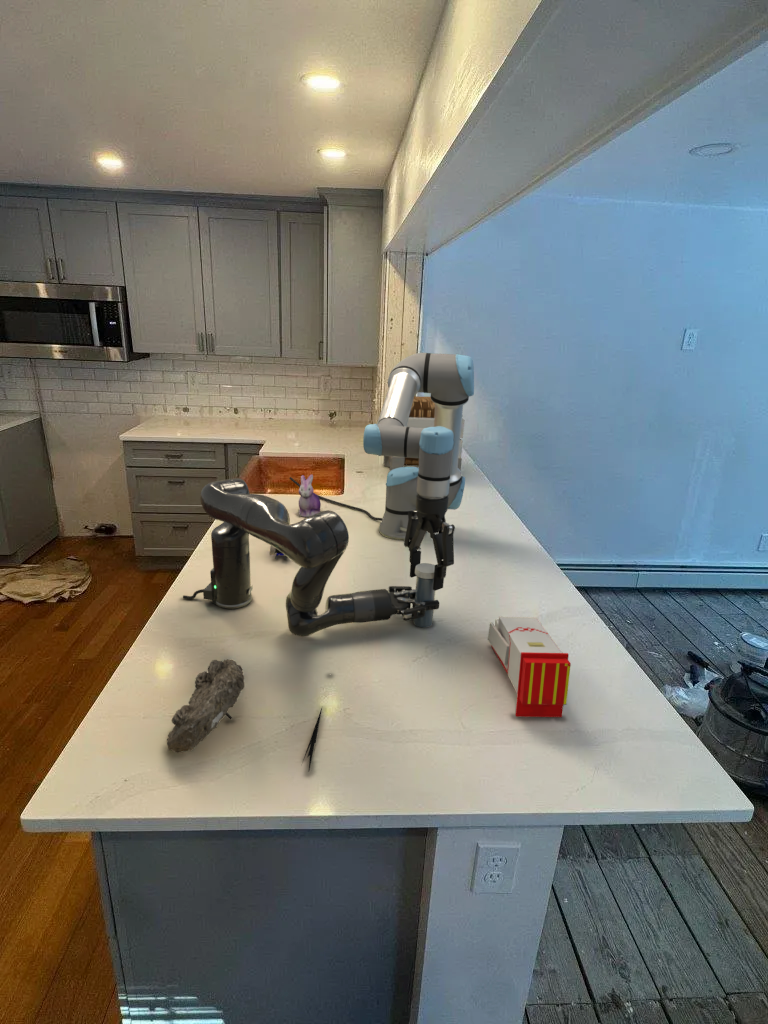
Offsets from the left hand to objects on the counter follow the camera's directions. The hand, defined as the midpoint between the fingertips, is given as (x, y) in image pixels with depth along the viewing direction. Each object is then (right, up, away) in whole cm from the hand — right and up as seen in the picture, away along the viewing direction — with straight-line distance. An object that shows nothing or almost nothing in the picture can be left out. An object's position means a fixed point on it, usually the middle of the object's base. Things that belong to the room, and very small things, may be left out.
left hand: (434, 599), depth 143 cm
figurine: (-41, +21, +73) cm, 86 cm away
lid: (-2, +8, -4) cm, 9 cm away
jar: (-3, -6, +1) cm, 7 cm away
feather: (-25, -18, -34) cm, 46 cm away
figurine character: (-45, +9, +38) cm, 59 cm away
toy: (+17, -14, -18) cm, 29 cm away
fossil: (-45, -17, -35) cm, 60 cm away
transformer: (+5, +41, +132) cm, 138 cm away
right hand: (-2, +5, -2) cm, 6 cm away
